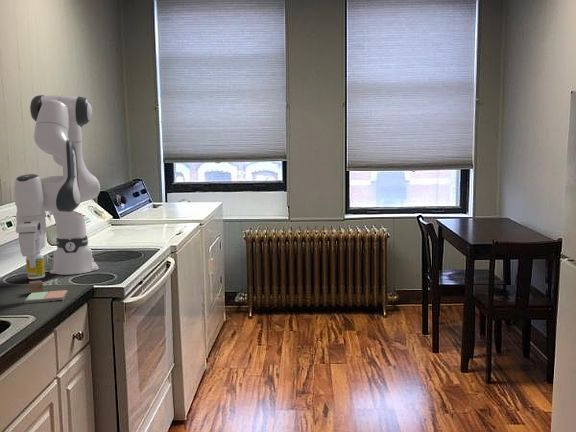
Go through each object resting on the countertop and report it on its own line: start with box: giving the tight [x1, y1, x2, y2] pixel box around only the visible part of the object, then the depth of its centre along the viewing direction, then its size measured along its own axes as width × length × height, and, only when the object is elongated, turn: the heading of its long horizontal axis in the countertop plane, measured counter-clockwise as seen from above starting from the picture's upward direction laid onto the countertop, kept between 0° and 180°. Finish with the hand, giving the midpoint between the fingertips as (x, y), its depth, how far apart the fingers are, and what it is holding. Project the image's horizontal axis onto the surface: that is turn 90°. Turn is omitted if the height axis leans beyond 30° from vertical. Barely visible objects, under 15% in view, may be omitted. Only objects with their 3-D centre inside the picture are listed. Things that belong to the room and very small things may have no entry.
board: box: [23, 289, 69, 305], centre depth 209 cm, size 11×12×1 cm
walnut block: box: [28, 279, 44, 293], centre depth 217 cm, size 4×4×4 cm
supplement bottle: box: [25, 248, 46, 280], centre depth 207 cm, size 5×5×10 cm
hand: (35, 265), depth 207 cm, fingers closed on supplement bottle, 5 cm apart
